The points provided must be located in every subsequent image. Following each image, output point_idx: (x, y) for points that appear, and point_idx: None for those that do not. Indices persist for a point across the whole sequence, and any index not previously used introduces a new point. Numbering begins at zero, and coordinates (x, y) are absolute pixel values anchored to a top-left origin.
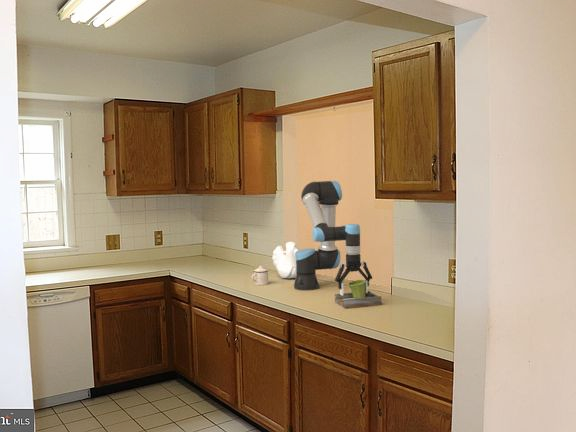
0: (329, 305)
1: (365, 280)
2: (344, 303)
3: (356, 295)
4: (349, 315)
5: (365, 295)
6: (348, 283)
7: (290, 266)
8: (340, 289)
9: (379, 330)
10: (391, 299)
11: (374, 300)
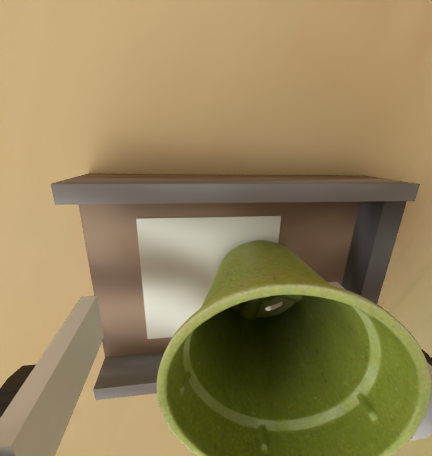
0: (23, 240)
1: (427, 416)
2: (112, 335)
3: (223, 331)
4: (97, 445)
5: (301, 306)
6: (192, 328)
7: None
8: (56, 347)
9: None
10: None
11: None
